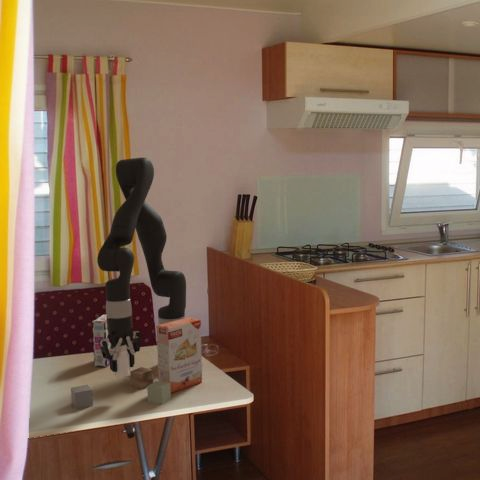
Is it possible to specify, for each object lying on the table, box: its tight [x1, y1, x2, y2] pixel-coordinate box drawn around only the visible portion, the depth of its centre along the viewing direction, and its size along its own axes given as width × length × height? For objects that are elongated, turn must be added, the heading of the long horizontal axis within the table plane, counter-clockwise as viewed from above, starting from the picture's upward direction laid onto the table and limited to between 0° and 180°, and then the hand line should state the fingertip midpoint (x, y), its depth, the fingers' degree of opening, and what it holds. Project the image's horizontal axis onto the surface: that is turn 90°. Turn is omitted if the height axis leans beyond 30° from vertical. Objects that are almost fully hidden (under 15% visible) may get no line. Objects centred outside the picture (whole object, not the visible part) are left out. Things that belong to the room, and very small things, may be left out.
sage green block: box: [146, 380, 172, 405], centre depth 199 cm, size 5×5×5 cm
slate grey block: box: [70, 384, 94, 410], centre depth 197 cm, size 5×5×5 cm
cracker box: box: [156, 316, 203, 394], centre depth 209 cm, size 14×6×21 cm, turn 137°
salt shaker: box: [114, 345, 131, 378], centre depth 200 cm, size 4×4×10 cm
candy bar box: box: [91, 314, 115, 368], centre depth 237 cm, size 11×5×16 cm, turn 172°
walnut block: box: [129, 366, 154, 390], centre depth 212 cm, size 5×5×5 cm
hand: (122, 368), depth 200 cm, fingers closed on salt shaker, 5 cm apart
